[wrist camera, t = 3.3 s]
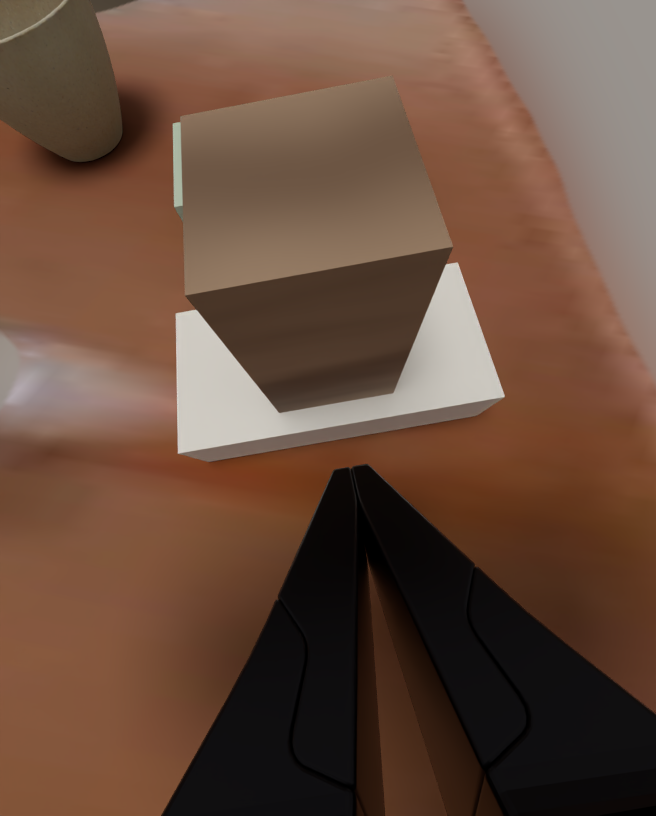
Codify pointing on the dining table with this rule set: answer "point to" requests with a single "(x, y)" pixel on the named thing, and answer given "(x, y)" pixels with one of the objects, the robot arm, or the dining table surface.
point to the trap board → (270, 430)
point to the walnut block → (312, 239)
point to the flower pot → (58, 78)
